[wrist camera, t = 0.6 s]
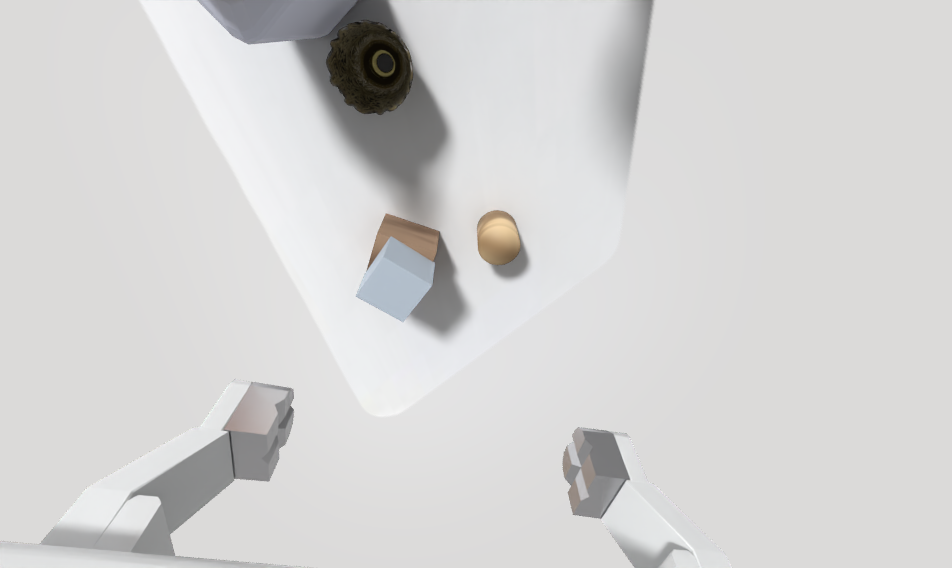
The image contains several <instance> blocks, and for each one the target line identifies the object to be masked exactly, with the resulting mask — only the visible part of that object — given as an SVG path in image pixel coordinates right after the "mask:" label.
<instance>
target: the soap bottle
mask: <svg viewBox="0 0 952 568" xmlns="http://www.w3.org/2000/svg"><path fill="white" fill-rule="evenodd" d="M198 1H199V2H200V4H201V5H202V6H203V7H204V8H205V9H206V10H207V11H208V12H209V13H210V14H211V15H212V16H213V17H214V18H215V19H216V20H217V21H218V22H219V23H220V24H221V25H222V26H223V27H224V28H225V29H226V30H227V31H228V32H229V33H230V34H231V35H232V36H234V37H235V38H237V39H239V40H241V41H243V42H245V43H247V44H258V43H269V42H280V41H291V40H301V39H312V38H320V37H323V36H325V35H328V34H329V33H330V32H331V31H332V29H333V28H334V27H335V26H336V25H337V24H338V23H339V22H340V20H341V19H342V18H343V17H344V16H345V15H346V14H347V12H348V11H349V10H350V9H351V8H352V7H353V6H354V4H355V3H356V2H357V1H358V0H198Z"/></svg>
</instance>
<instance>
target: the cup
mask: <svg viewBox="0 0 952 568" xmlns="http://www.w3.org/2000/svg"><path fill="white" fill-rule="evenodd" d="M337 36H338V38H336V39H335V40H332V41H331V43H330V45H331V47H332V49H331V51H330V53H329V54H328V57H327V60H326V64H327V68H328V70H329V72H330V82H331V84H332V85H333V86H336V87H338V89H339V91H340V93H341V94H343V96H344V97H345V99H344V101H345V103H346V104H347V105H349V106H353V107H354V108H355V109H356V110H357V111H359V112H361V113H363V114H371V113H377V114H378V115H382V114H383V113H384V112H385V111H393V110H395V109H396V108H397V107H398V106H399V105H400V104H401V103H402V102H403V101H404V99H405V98H406V95H407V94H408V93H409V91H410V88H411V84H412V80H413V66H412V60H411V56H410V53H409V51H408V49H407V47H406V45H405V44H404V42H403V41H402V40H401V39H400V37H399V36H398V35H397V34H396V33H395V32H393V31H392V30H391V29H389V28H388V27H387V26H385V25H383V24H381V23H379V22H371V21H368V20H361V22H355V23H350V24H348V25H347V26H346V27H343V28H342V29H340V30H339V31H338V34H337ZM382 54H386V55H388V56H390V57H391V59H392V61H393V67H392V69H391V70H390V71H388V72H383V71H381V70H380V69H379V67H378V65H377V59H378V57H379V56H380V55H382Z"/></svg>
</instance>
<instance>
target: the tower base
mask: <svg viewBox="0 0 952 568" xmlns="http://www.w3.org/2000/svg"><path fill="white" fill-rule="evenodd" d="M391 236H392V237H393V238H395V239H396V240H398V241H400V242H401V243H403V244H405V245H406V246H408V247H410V248H411V249H413V250H414V251H416V252H418V253H419V254H421V255H423V256H424V257H426V258H427V259H429V260H431V261H432V262H433V261H434V258H435V256H436V253H437V246H438V239H439V231H437V230H434V229H431V228H428V227H425V226H422V225H419V224H416V223H413V222H410V221H407V220H404V219H401V218H398V217H395V216H392V215H389V214H385V217H384V219H383V221H382V224H381V226H380V228H379V231H378V233H377V236H376V240H375V243H374V247H373V250H372V254H371V257H370V261H369V264H368V268H369V267H370V266H371V264H372V263H373V261H374V260H375V258H376V257H377V255H378V254H379V252H380V251H381V250H382V248H383V247H384V245H385V244H386V242H387V241H388V239H389V238H390V237H391ZM368 268H367V270H368Z"/></svg>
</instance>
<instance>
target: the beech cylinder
mask: <svg viewBox="0 0 952 568" xmlns="http://www.w3.org/2000/svg"><path fill="white" fill-rule="evenodd" d="M477 237H478V251H479V254H480V256H481V257H482V258H483V259H484V260H485V261H486V262H488V263H490V264H494V265H503V264H507V263H509V262H511V261H512V260H513V259H514V258H515V257H516V256H517V255H518V253H519V251H520V239H519V235H518V231H517V227H516V223H515V221H514V219H513V217H512V216H511V215H509V214H508V213H506V212H504V211H498V210H497V211H491V212H488V213H486V214H485V215H484V216H483V217H482V218H481V219H480V220H479V222H478V226H477Z"/></svg>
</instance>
